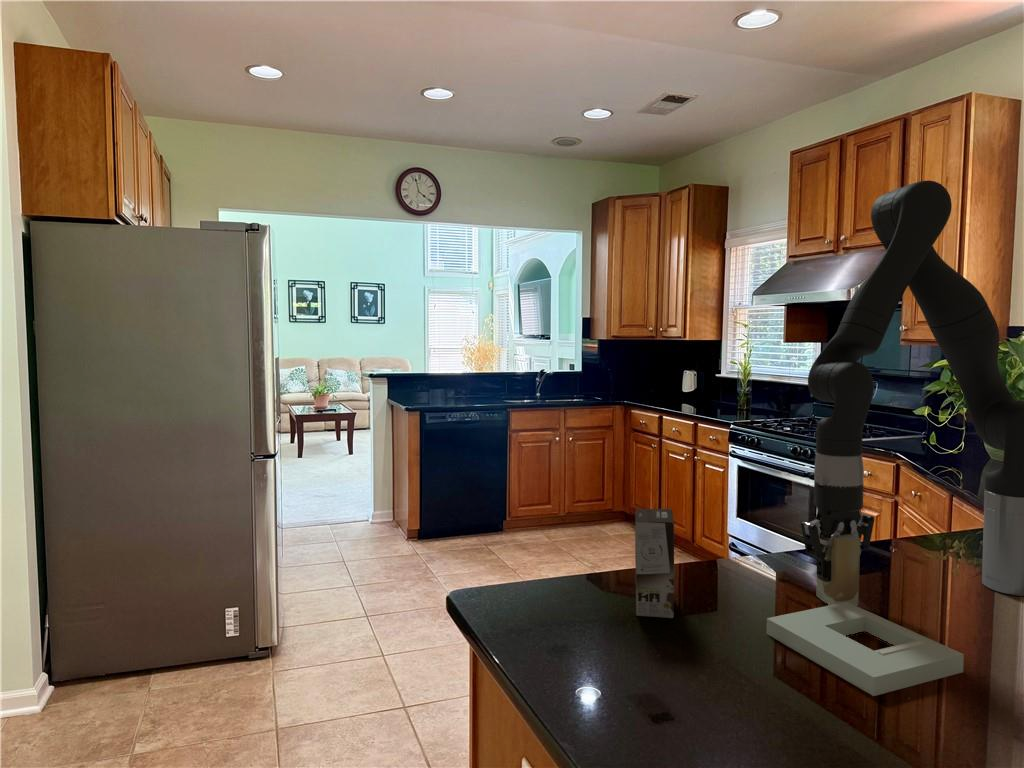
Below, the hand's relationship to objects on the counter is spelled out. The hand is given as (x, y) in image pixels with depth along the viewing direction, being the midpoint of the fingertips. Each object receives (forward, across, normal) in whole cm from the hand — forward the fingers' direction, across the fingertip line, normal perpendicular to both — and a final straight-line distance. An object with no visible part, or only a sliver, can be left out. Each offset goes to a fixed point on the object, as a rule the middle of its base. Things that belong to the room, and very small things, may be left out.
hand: (837, 577), depth 120 cm
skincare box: (+5, 0, 0) cm, 5 cm away
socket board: (+4, +11, +15) cm, 19 cm away
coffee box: (+5, +29, -11) cm, 31 cm away
